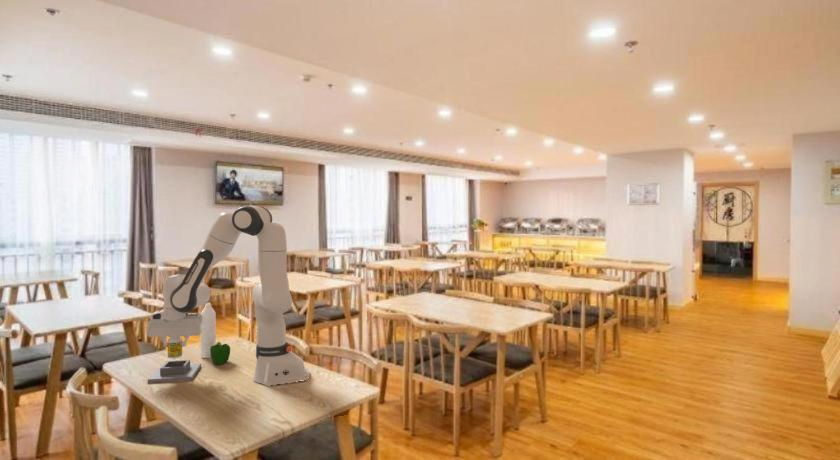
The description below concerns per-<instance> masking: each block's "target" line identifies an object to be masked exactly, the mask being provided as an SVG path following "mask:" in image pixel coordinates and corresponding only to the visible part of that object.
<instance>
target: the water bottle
mask: <svg viewBox="0 0 840 460" xmlns="http://www.w3.org/2000/svg"><path fill="white" fill-rule="evenodd" d="M200 307H202V305H200V306H198V307H197V308H200ZM200 315H201V316H202V322H201V325H202V332H201V334H200V357H201V358H202V359H210V358H211V353H210V348H211V346H215V345H216V344H217V341H216V340H217V338H216V337H217V322H216V321H217V320H216V317H217V314H216V310H215V309H214V308H213V307H212V304H211V302H206V303H205V304H204V308H203V309H202V311H201V312H200ZM211 359H212V358H211Z"/></svg>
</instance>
